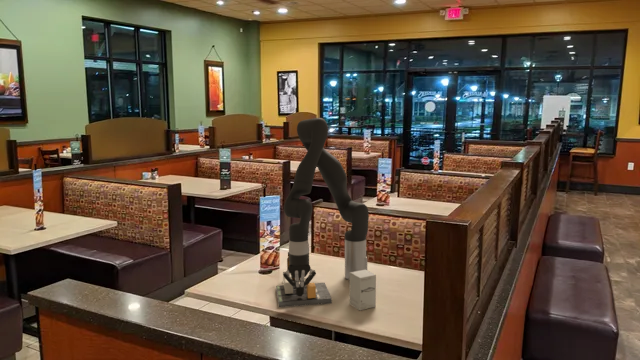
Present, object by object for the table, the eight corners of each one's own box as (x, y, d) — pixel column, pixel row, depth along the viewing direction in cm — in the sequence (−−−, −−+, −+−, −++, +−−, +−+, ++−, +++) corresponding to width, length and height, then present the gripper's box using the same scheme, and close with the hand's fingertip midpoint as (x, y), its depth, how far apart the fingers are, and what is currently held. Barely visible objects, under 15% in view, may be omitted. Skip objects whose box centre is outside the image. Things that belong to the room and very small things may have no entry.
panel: (324, 287, 200) (324, 282, 200) (331, 303, 184) (331, 297, 183) (276, 290, 197) (276, 285, 197) (278, 307, 181) (278, 301, 180)
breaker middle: (292, 289, 191) (291, 278, 191) (293, 293, 187) (292, 282, 187) (284, 290, 191) (284, 279, 190) (285, 293, 187) (285, 282, 186)
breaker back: (290, 284, 197) (290, 273, 197) (291, 287, 193) (291, 276, 193) (283, 284, 197) (283, 273, 196) (284, 288, 193) (283, 277, 192)
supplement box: (359, 311, 176) (359, 277, 174) (349, 304, 183) (348, 271, 181) (376, 307, 180) (376, 274, 178) (365, 300, 186) (365, 268, 184)
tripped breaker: (314, 293, 187) (314, 282, 186) (315, 297, 183) (315, 286, 182) (306, 294, 186) (306, 283, 186) (307, 298, 182) (307, 286, 182)
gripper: (315, 247, 186) (315, 290, 189) (280, 249, 184) (281, 293, 187) (317, 253, 179) (318, 298, 181) (282, 255, 177) (283, 300, 179)
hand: (299, 295), depth 184 cm, fingers closed
